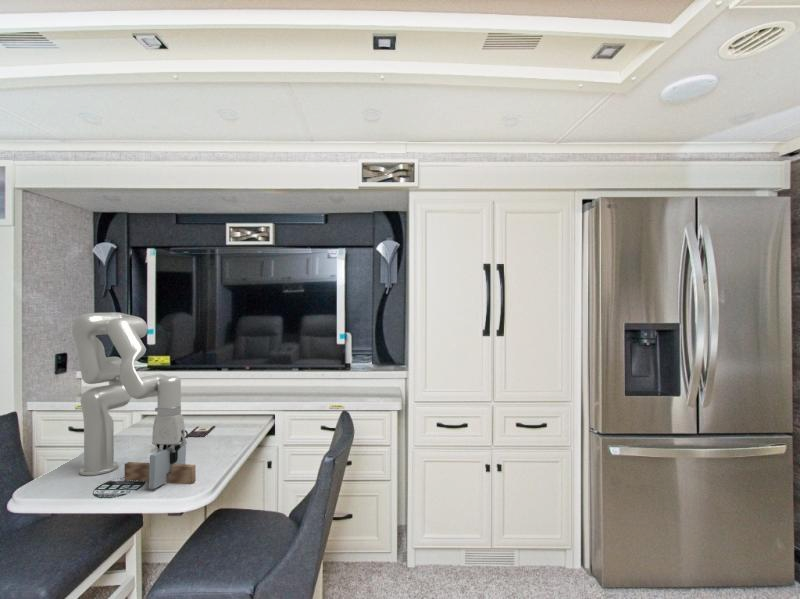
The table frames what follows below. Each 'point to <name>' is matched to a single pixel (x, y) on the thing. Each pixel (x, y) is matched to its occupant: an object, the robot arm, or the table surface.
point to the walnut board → (177, 474)
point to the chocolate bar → (200, 431)
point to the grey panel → (163, 465)
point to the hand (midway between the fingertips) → (169, 462)
